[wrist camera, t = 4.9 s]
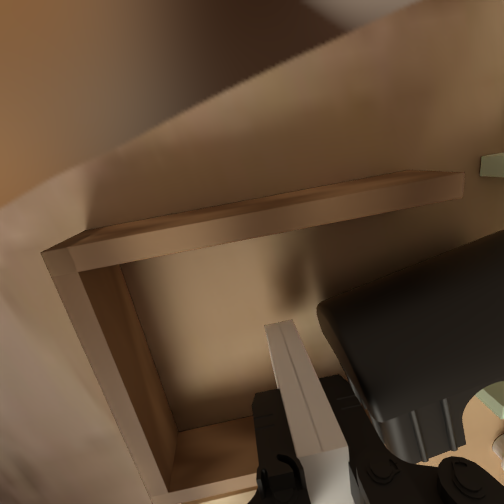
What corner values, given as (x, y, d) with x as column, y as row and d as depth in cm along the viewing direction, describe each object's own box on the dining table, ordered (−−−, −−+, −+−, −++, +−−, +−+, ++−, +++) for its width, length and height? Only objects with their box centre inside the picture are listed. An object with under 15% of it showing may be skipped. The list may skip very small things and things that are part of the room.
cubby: (167, 446, 18) (155, 509, 15) (85, 230, 13) (40, 252, 10) (404, 393, 19) (443, 442, 16) (408, 170, 14) (464, 172, 11)
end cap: (469, 212, 15) (649, 248, 9) (481, 314, 17) (630, 402, 11) (301, 279, 15) (357, 362, 9) (334, 372, 18) (397, 490, 11)
